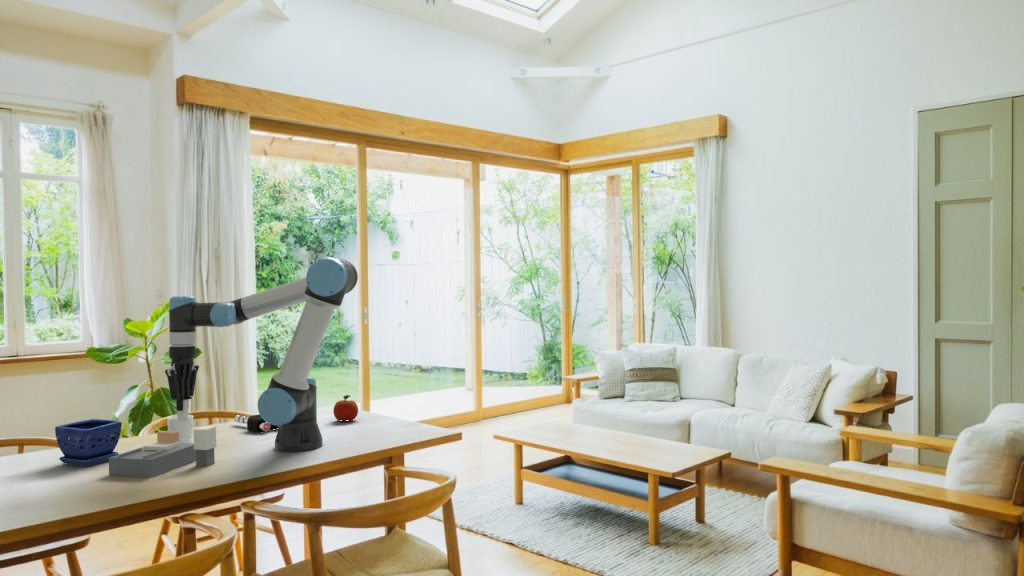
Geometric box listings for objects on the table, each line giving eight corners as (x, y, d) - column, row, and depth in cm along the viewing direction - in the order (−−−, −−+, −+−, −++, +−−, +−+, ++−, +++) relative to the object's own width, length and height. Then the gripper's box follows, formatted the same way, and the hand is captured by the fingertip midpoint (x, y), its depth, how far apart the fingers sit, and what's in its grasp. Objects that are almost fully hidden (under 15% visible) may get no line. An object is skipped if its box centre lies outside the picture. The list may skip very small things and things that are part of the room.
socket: (198, 459, 212) (198, 440, 212) (151, 477, 193) (151, 456, 193) (159, 457, 215) (158, 439, 215) (109, 475, 196) (108, 454, 195)
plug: (216, 463, 208) (216, 426, 208) (207, 467, 203) (206, 429, 203) (203, 462, 209) (203, 426, 209) (194, 466, 204) (193, 429, 204)
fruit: (329, 423, 267) (328, 397, 267) (339, 418, 276) (339, 393, 276) (352, 423, 265) (352, 397, 265) (361, 419, 275) (361, 393, 275)
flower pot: (124, 458, 215) (124, 420, 215) (85, 469, 203) (85, 428, 203) (92, 455, 219) (92, 418, 219) (53, 466, 207) (52, 426, 207)
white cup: (183, 449, 226) (182, 419, 226) (162, 448, 227) (161, 418, 227) (198, 444, 234) (198, 414, 234) (178, 443, 235) (177, 414, 235)
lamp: (261, 420, 248) (221, 413, 262) (261, 435, 248) (221, 427, 262) (286, 415, 256) (247, 409, 271) (287, 429, 256) (247, 422, 271)
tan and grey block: (180, 445, 209) (180, 431, 209) (164, 450, 203) (164, 436, 203) (160, 444, 211) (160, 430, 211) (143, 449, 204) (143, 435, 204)
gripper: (186, 343, 223) (186, 416, 223) (157, 346, 210) (157, 424, 210) (206, 343, 221) (206, 417, 222) (178, 347, 209) (178, 425, 209)
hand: (182, 420), depth 216 cm, fingers closed
